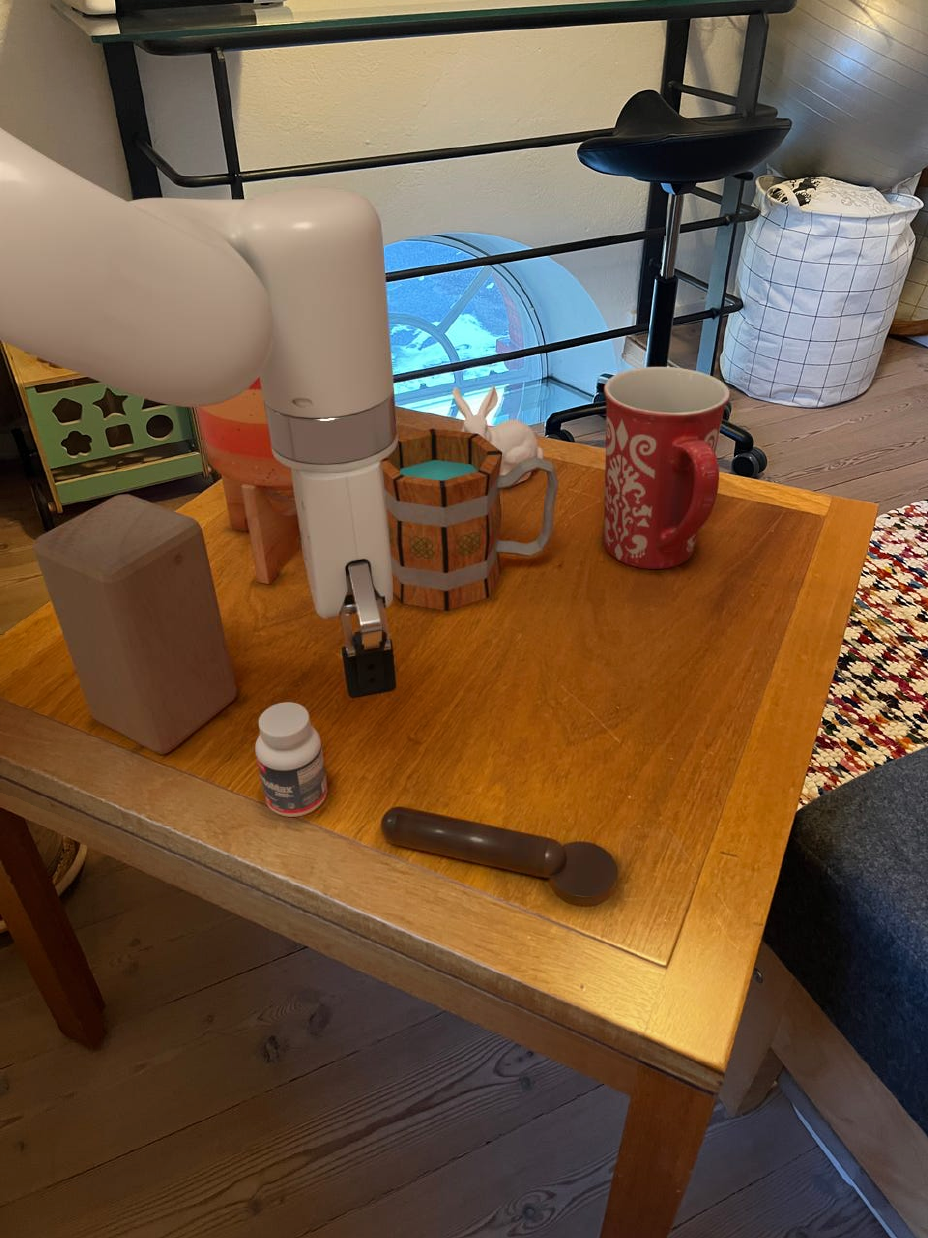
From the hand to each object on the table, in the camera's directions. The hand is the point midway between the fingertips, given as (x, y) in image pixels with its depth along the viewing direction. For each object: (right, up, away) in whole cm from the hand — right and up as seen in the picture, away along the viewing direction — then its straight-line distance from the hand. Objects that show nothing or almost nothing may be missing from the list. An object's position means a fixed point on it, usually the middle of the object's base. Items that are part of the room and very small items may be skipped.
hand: (360, 647), depth 64 cm
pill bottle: (-7, -13, +14) cm, 20 cm away
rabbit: (+11, +21, +58) cm, 63 cm away
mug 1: (+8, +7, +40) cm, 41 cm away
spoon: (+10, -17, +8) cm, 21 cm away
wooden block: (-21, -7, +22) cm, 31 cm away
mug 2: (+30, +9, +42) cm, 53 cm away
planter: (-12, +11, +46) cm, 49 cm away
